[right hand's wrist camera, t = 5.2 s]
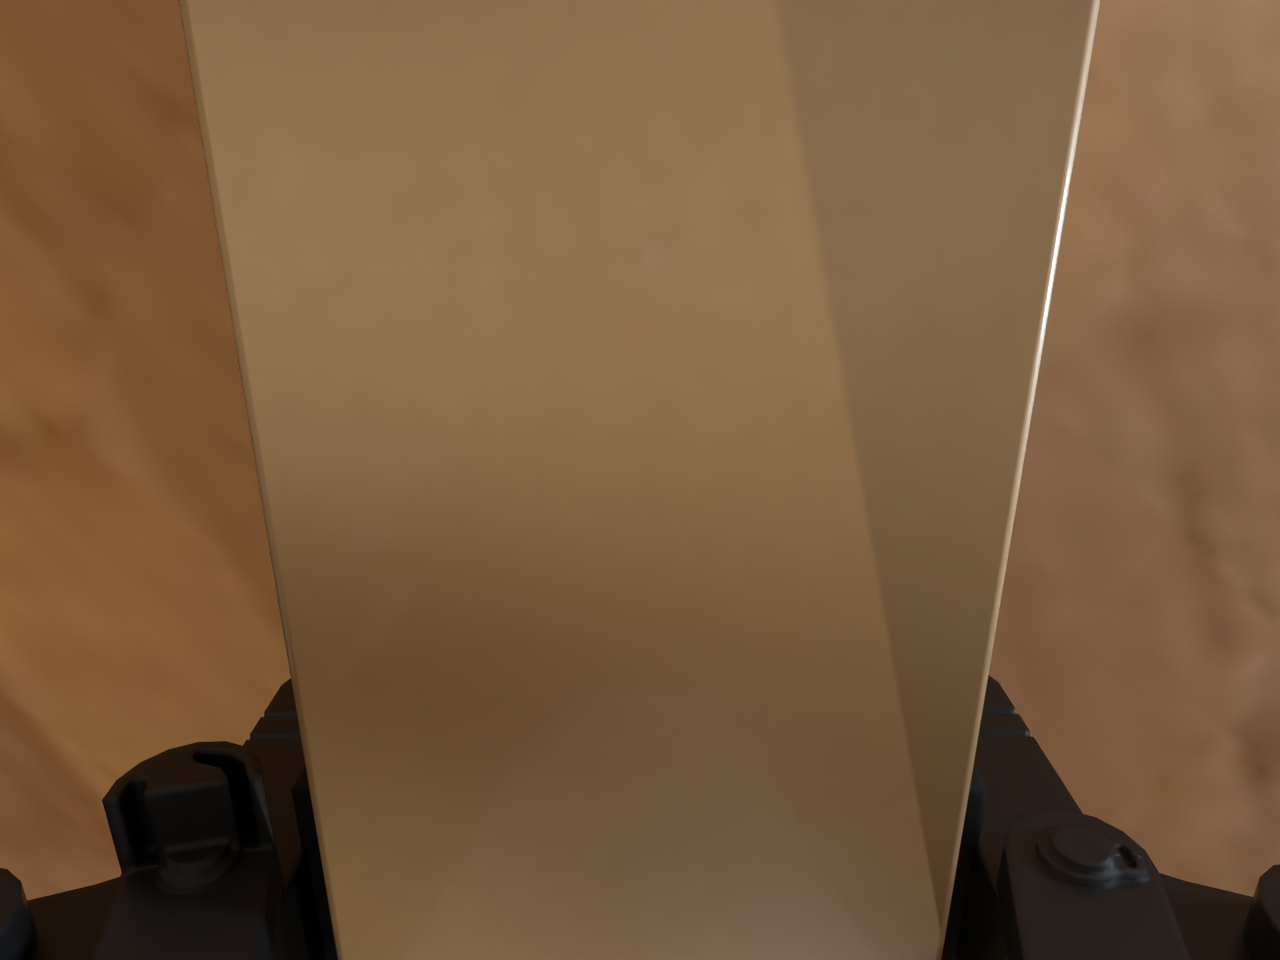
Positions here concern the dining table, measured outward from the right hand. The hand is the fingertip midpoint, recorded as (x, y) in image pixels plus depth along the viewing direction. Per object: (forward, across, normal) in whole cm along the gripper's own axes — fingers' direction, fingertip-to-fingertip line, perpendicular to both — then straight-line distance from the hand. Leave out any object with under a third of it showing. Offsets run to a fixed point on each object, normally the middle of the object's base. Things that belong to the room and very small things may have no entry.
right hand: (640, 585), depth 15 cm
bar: (+1, 0, -26) cm, 26 cm away
